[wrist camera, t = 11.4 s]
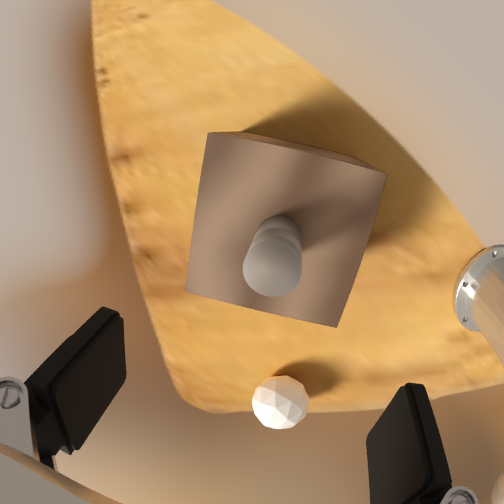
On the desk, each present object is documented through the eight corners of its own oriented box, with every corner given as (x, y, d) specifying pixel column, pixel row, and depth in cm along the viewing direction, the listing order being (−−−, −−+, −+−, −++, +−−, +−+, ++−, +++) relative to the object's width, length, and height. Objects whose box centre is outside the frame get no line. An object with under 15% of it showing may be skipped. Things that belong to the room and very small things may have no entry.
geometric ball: (297, 371, 46) (328, 409, 40) (258, 403, 46) (284, 442, 40) (275, 356, 41) (308, 400, 35) (231, 393, 41) (259, 439, 35)
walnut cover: (356, 158, 32) (414, 189, 15) (326, 264, 37) (342, 375, 20) (241, 131, 33) (178, 134, 16) (221, 239, 37) (158, 330, 20)
